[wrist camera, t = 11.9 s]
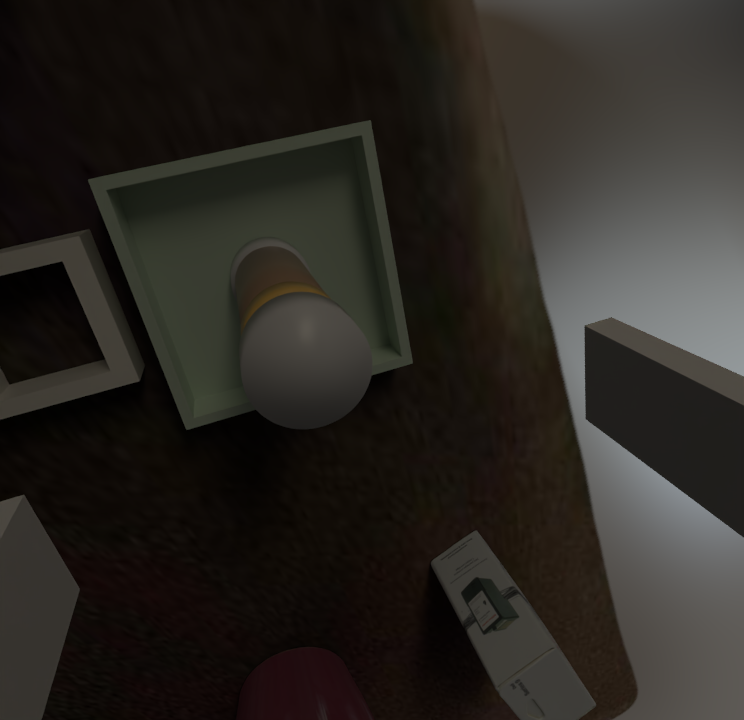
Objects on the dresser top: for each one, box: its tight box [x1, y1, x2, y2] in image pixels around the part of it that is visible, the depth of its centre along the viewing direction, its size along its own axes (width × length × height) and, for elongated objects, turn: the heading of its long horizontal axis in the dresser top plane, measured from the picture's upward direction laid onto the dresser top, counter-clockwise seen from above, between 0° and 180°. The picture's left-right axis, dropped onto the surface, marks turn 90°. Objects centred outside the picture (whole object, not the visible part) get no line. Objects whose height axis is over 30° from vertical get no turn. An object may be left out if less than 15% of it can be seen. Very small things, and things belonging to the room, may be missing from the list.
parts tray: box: [88, 120, 413, 430], centre depth 30 cm, size 14×14×3 cm
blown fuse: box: [230, 237, 372, 429], centre depth 24 cm, size 4×4×15 cm
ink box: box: [431, 531, 596, 720], centre depth 40 cm, size 9×5×12 cm, turn 32°
